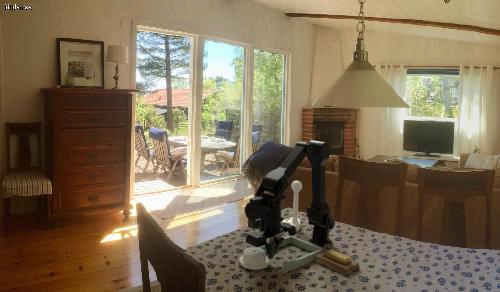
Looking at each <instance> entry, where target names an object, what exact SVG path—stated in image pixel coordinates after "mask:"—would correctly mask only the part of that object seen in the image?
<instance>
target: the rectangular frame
mask: <svg viewBox="0 0 500 292" xmlns="http://www.w3.org/2000/svg"><path fill="white" fill-rule="evenodd" d="M325 252H326V251H325ZM325 252H323V253H321V254H319V255H316V256H315V260H314V262H316V263H319V264H320V265H323V266H325V267H328V268H329V269H332V270H334V271H335V272H338V273H341V274H342V275H346V276H347V275H349V274H351V273H353V272H355V271H356V270H358V269H359V268H360V262H358V261H356V260H353V259H350V264H349V265H347V266H344V265H342V264H339V263H337V262H334V261H332V260H330V259H327V258H325Z"/></svg>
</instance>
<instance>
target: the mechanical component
mask: <svg viewBox="0 0 500 292" xmlns="http://www.w3.org/2000/svg"><path fill="white" fill-rule="evenodd" d="M266 254H267V252H265V251H264V250H263V249H261V248H258V247H257V248H256V247H254V246H251V247H247V248H245V249H243V252H242V255H241V256H240V257H239V260H238V263H239V265H240V266H241V267H242V268H244V269H248V270H252V271H253V270H254V271H256V270H264V269H265V268H267V267H268V266H269V264H270V258H269V256H267V255H266Z"/></svg>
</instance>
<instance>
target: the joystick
mask: <svg viewBox="0 0 500 292" xmlns="http://www.w3.org/2000/svg"><path fill="white" fill-rule="evenodd" d="M290 186H291V187H290V188H291V189H292V191H293V206H292V216H290V217H289V219H288V218H286V219H284V220H283V221H281V223H284V222H286V223H288V224H291V225H294V226H295V228H296V233H297V232H298V231H299V230H300V227H301V220H300V218H299V215H298V214H299V194H300V193H299V192H300V191H301V190H302V188H303V184H302V182H301V181H300V180H293V181H292V183H291V185H290Z"/></svg>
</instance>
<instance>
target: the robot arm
mask: <svg viewBox="0 0 500 292" xmlns="http://www.w3.org/2000/svg"><path fill="white" fill-rule="evenodd" d="M295 143H296V144H295V146H294V148H293V149H292V150H291V152H290V153H289V154H288V155H287V156H286V157H285V158H284V160H283V161H282V162H281V164H280V165H279V166H278V167H277V168H276V169H273V170H271V171H270V172H268V173H267V174H266V175H265V176H264V177H263V178H262V180H261V182H260V185H259V187H258V188H257V191H256V192H255V194H254V196H255V197H251V198H249V202H247V203H246V204H245V207H244V215H245V216H246V218H247V228H248V229H251V230H252V231H253V232H250V233H247V234H246V235H245V243H247V244H249V245H251V246H252V247H254V248H256V247H261V246H264V245H265V247H266V250H267V252H266V254H267V257H268V259H269V260H272V259H274V257H275V255H276V254H277V252H278V250H279V248H281V247H280V245H281V244H282V242H283V241H284V240H285V237H283V235H282V234H286V233H288V236H294V235H296V234H297V232H296V228H295V226H294V225H291V224H288V223H286V222H284V223H282V221H283V220H285V219H284V216H282V203H283V202H282V201H283V200H286V199H287V196H286V195H284V193H285V192H286V190H287V189H288V187H289V185H290V178H291V176H292V175H293V174H294V173H295V171H296V170H297V169H298V167H299V166H300V165H301V163H302V162H303V161H304V160H305V159H307V160H308V162H309V164H310V166H311V203H310V204H309V206H306V217H307V220H308V224H309V225H311V226H312V232H311V233H312V234H311V235H312V236H311V237H312V238H309V239H308V242H311V243H315V244H317V245H320V246H325V245H326V244H329V243H332V242H333V240H332V239H330V230H334V228H335V225H336V221H335V220H334V218H333V216H332V213H331V209H330V206H329V204H328V203H327V201H326V200H327V199H326V163H328V161H329V159H330V154H331V153H330V152H331V146H330V144H329V143H328V142H326V141H321V140H313V139H311V140H309V142H307V141H297V142H295ZM254 230H258V231H259V232H263V233H259V232H257V231H254Z"/></svg>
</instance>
